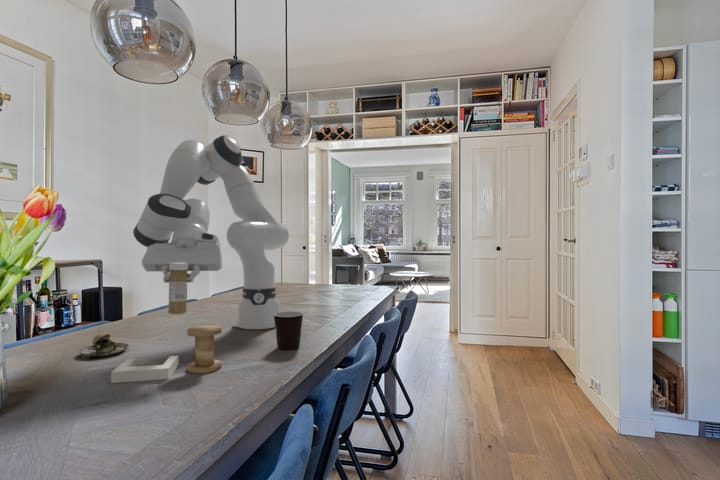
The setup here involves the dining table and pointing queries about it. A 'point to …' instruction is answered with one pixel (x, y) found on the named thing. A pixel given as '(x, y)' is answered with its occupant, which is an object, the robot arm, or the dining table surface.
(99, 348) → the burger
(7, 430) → the dining table surface
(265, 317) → the robot arm
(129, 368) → the notched board
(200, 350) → the oak spool
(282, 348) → the dark brown cup
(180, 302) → the sprinkles bottle
